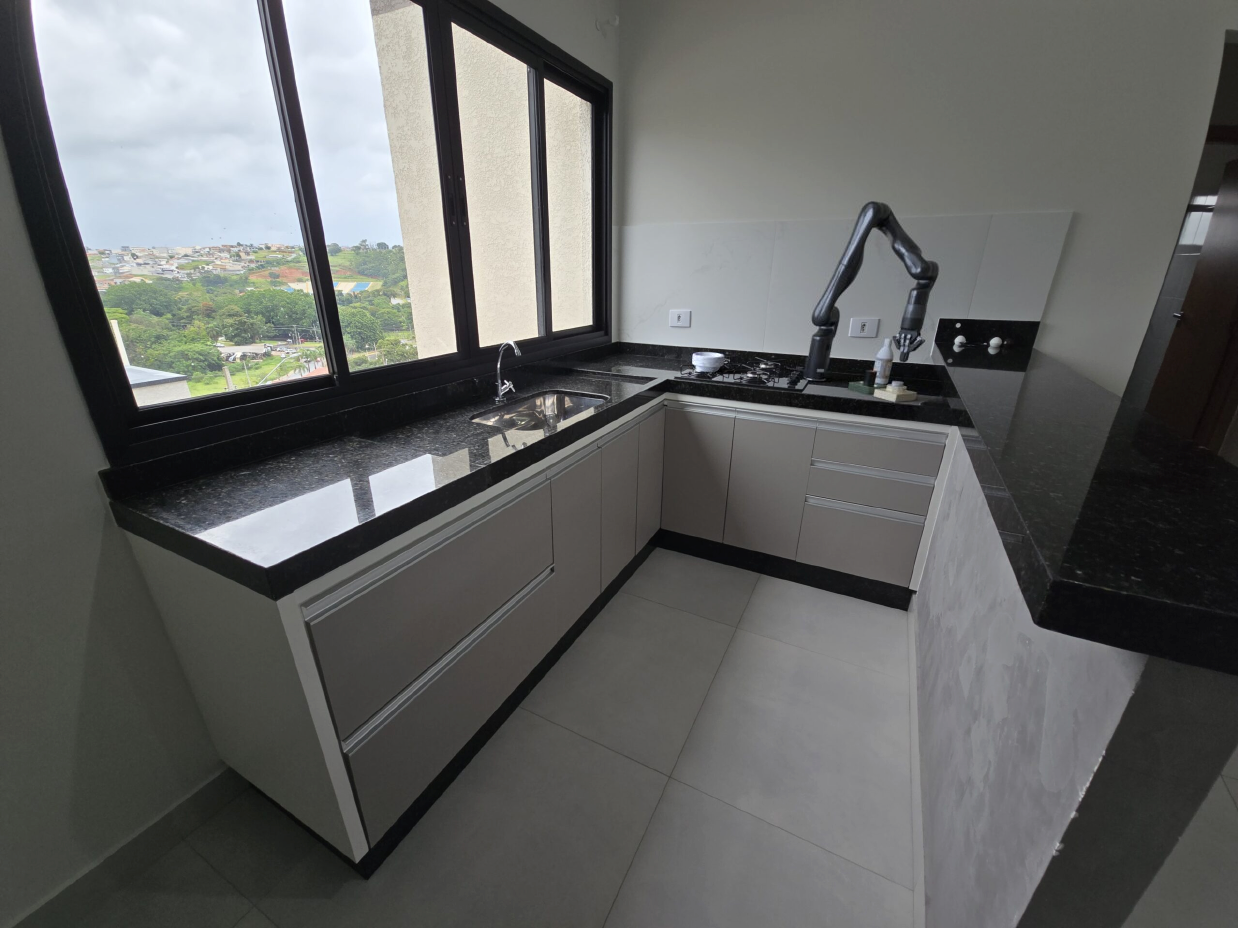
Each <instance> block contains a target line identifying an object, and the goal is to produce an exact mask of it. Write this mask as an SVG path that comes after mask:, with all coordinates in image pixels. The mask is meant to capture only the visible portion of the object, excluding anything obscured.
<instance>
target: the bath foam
mask: <svg viewBox="0 0 1238 928" xmlns="http://www.w3.org/2000/svg"><path fill="white" fill-rule="evenodd" d="M892 344H893V338H889V337H887V338H885V339H884V343H883V347H882V348H881V349H880V350H879V351H878V352H877V355H876V357H875V362H874V365H873V371H877V376H876V380H875V383H879V384H883V385H888V384H889V383H888V382H889V378H890V374H891V371H892V366H893V362H894V357H895V356H894V351H893V348H892Z"/></svg>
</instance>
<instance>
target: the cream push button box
mask: <svg viewBox="0 0 1238 928" xmlns="http://www.w3.org/2000/svg"><path fill="white" fill-rule="evenodd" d="M886 385H887V388H882V389H875V392H874V394H873V397H875V398H879V399H882V400H886V401H888V402H893V403H899V402H909V401H915V400H916V398H917V395H918V392H916V391H911V390H907V386H905V385H903V387H894V386H891V385H892V383H887V384H886Z"/></svg>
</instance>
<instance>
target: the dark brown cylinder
mask: <svg viewBox="0 0 1238 928" xmlns="http://www.w3.org/2000/svg"><path fill="white" fill-rule="evenodd" d="M873 370H874V369H873ZM873 370H872V369H867V370H865V373H864V378H863V381H864V382H863V384H866V385H875V380H876V376H877V371H873Z"/></svg>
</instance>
